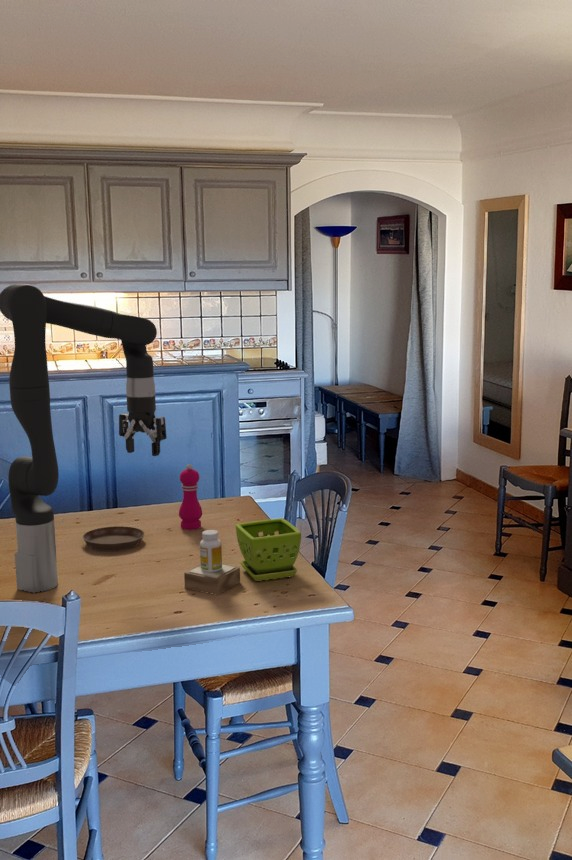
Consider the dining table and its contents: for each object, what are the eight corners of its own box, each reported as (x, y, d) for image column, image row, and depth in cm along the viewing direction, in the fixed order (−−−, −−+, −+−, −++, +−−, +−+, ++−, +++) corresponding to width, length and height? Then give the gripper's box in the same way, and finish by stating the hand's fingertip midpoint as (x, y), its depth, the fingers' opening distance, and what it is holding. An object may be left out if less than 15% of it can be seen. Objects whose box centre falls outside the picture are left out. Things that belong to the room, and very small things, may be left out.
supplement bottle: (223, 565, 219) (222, 528, 218) (221, 572, 214) (219, 535, 212) (202, 565, 220) (200, 528, 218) (199, 572, 214) (198, 535, 213)
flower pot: (235, 569, 230) (234, 523, 227) (284, 562, 234) (283, 517, 232) (251, 586, 217) (251, 538, 214) (303, 579, 222) (303, 531, 219)
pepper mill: (175, 529, 265) (173, 466, 261) (184, 522, 272) (183, 460, 268) (197, 531, 263) (195, 467, 259) (206, 524, 270) (204, 462, 266)
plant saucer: (122, 531, 264) (121, 521, 264) (156, 543, 252) (156, 533, 251) (71, 544, 252) (70, 534, 252) (105, 558, 240) (104, 547, 239)
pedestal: (217, 595, 211) (217, 578, 210) (184, 588, 216) (184, 571, 215) (240, 582, 219) (239, 566, 219) (208, 575, 224) (207, 560, 224)
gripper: (110, 394, 228) (113, 454, 231) (153, 397, 221) (155, 459, 224) (129, 390, 234) (131, 449, 237) (171, 393, 227) (173, 454, 230)
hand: (143, 454), depth 230 cm, fingers open, 8 cm apart
